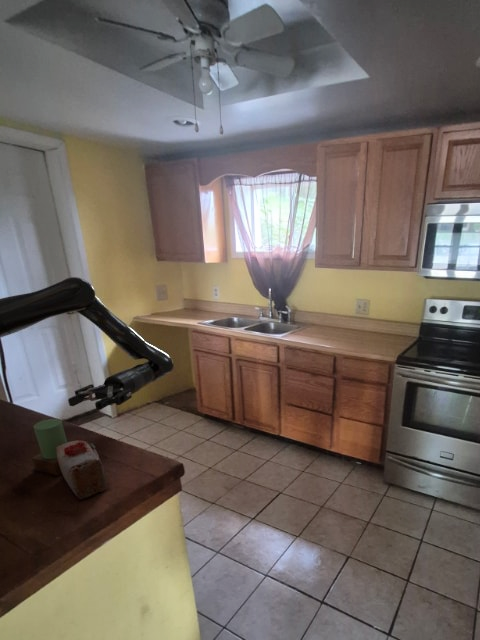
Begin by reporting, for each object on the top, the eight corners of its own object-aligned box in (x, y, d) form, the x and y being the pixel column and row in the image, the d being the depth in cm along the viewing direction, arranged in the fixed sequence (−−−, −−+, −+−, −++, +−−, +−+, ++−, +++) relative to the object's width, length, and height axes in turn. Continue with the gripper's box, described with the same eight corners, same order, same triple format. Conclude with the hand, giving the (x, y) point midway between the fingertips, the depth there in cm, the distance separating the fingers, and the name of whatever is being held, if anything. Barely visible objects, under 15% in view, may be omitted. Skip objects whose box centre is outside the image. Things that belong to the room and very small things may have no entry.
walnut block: (35, 470, 90) (31, 457, 88) (61, 455, 96) (57, 443, 94) (58, 475, 88) (54, 463, 86) (82, 460, 94) (79, 448, 92)
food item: (58, 475, 88) (48, 439, 84) (95, 463, 93) (86, 428, 89) (75, 503, 79) (64, 463, 75) (114, 487, 84) (106, 449, 80)
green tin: (41, 461, 87) (32, 431, 84) (43, 450, 91) (34, 421, 88) (69, 455, 89) (61, 425, 86) (69, 445, 94) (61, 416, 91)
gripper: (102, 369, 111) (57, 388, 97) (143, 373, 108) (103, 394, 93) (107, 392, 114) (64, 414, 100) (147, 397, 111) (109, 421, 96)
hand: (83, 404), depth 97 cm, fingers open, 8 cm apart
